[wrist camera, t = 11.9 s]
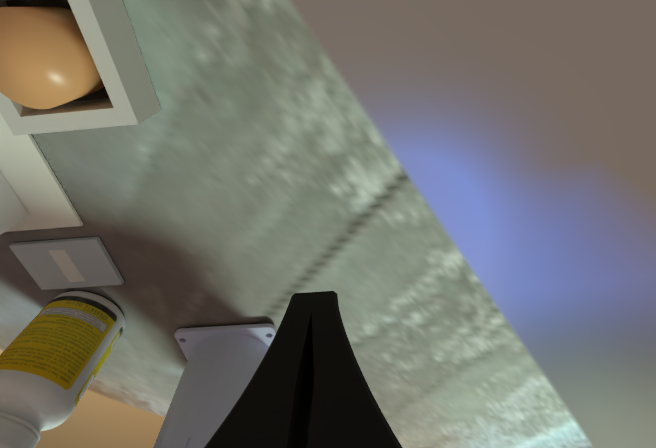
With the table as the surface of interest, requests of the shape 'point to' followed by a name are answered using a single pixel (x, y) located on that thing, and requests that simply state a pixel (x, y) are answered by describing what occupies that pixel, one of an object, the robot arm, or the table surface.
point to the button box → (115, 71)
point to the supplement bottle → (54, 364)
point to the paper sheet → (34, 183)
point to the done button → (44, 57)
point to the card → (68, 263)
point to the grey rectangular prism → (9, 207)
